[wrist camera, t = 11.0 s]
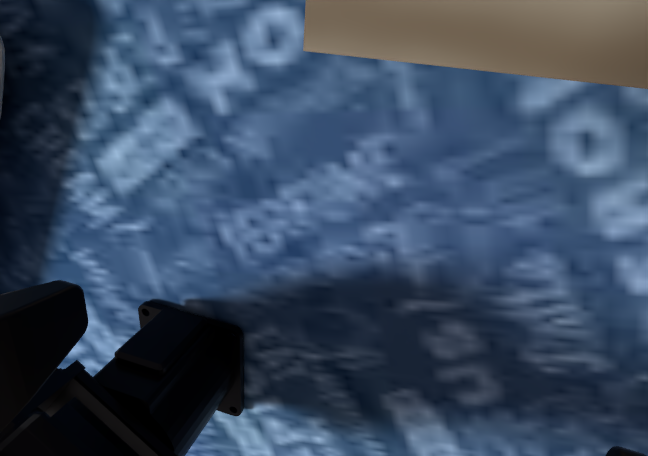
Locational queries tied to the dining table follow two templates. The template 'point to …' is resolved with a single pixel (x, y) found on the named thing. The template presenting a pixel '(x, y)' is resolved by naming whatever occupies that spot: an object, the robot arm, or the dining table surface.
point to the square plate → (1, 71)
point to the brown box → (491, 35)
